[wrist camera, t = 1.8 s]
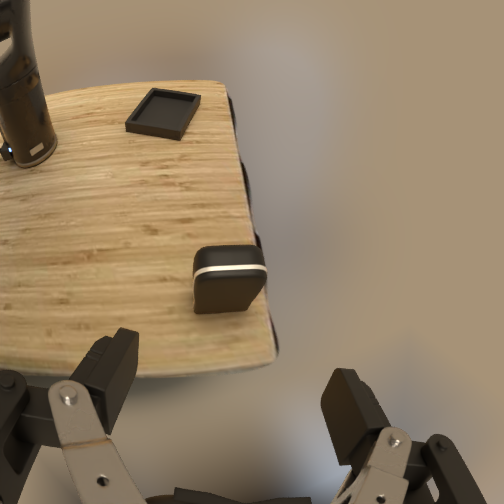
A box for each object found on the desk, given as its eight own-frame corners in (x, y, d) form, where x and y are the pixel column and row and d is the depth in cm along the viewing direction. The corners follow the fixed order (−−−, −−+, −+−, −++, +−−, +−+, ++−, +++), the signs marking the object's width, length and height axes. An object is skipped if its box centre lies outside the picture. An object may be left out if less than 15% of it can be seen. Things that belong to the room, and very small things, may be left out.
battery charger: (245, 282, 38) (266, 237, 28) (249, 311, 36) (273, 274, 26) (190, 285, 36) (192, 239, 26) (192, 315, 35) (194, 278, 25)
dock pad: (125, 131, 47) (124, 122, 45) (152, 96, 53) (152, 87, 51) (180, 140, 48) (180, 131, 46) (200, 103, 54) (201, 94, 52)
